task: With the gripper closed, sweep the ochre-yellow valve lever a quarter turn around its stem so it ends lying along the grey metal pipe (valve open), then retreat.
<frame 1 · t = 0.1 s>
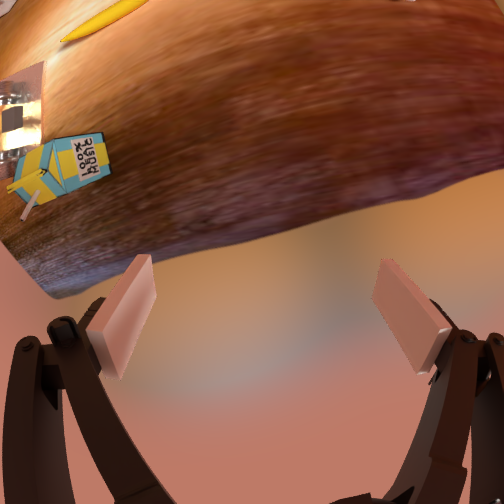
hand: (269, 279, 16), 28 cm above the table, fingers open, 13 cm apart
carton: (91, 161, 39), on the table
valve body: (12, 128, 34), on the table
banana: (123, 14, 28), on the table
wineglass: (8, 1, 20), on the table
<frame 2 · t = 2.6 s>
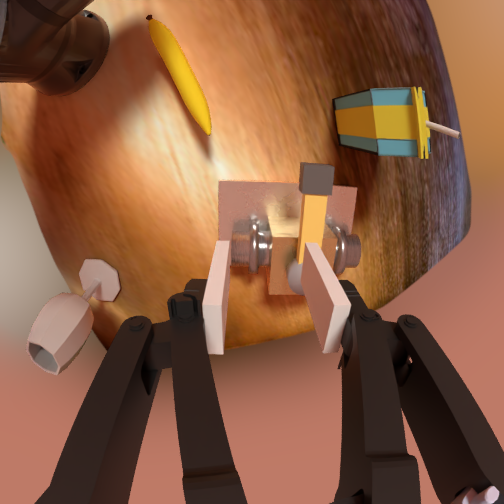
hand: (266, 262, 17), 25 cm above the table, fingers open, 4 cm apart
lever: (310, 232, 31), point 11 cm above the table, hinge at 0.0°
carton: (360, 121, 36), on the table
valve body: (292, 240, 44), on the table
banana: (185, 78, 33), on the table
wineglass: (101, 278, 46), on the table
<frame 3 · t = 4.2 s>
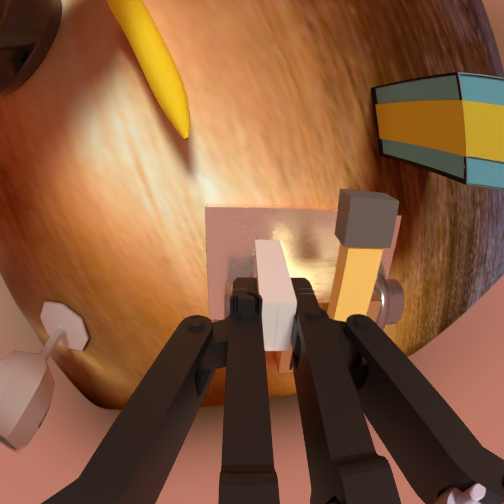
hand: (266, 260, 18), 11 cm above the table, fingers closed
lever: (349, 302, 19), point 11 cm above the table, hinge at 0.0°
carton: (407, 121, 24), on the table
valve body: (309, 286, 31), on the table
banana: (157, 56, 21), on the table
wineglass: (65, 323, 34), on the table
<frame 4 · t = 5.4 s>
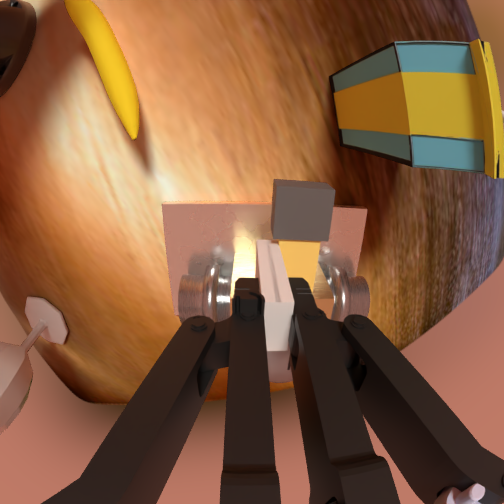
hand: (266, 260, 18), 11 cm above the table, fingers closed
lever: (290, 298, 19), point 11 cm above the table, hinge at 1.4°, touching gripper
carton: (371, 109, 23), on the table
valve body: (272, 283, 31), on the table
banana: (117, 61, 21), on the table
wineglass: (47, 318, 34), on the table
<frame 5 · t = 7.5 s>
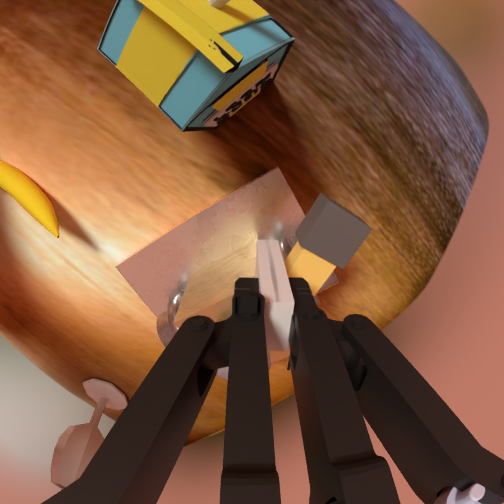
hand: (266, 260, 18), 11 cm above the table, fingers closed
lever: (279, 305, 19), point 11 cm above the table, hinge at 59.4°, touching gripper
carton: (222, 76, 22), on the table
valve body: (243, 282, 31), on the table
banana: (29, 182, 25), on the table
wineglass: (106, 391, 41), on the table
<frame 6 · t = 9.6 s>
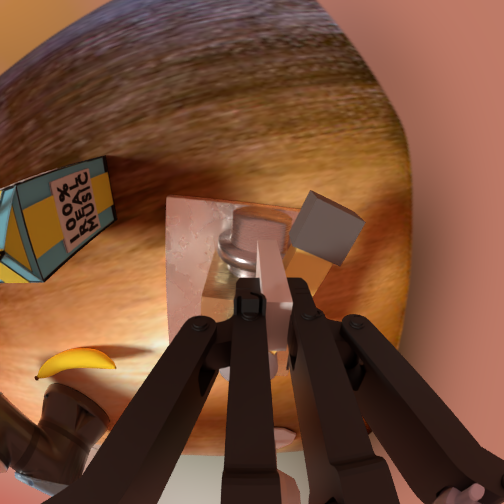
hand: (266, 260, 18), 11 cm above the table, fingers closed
lever: (280, 307, 19), point 11 cm above the table, hinge at 106.3°, touching gripper
carton: (85, 188, 26), on the table
valve body: (250, 285, 31), on the table
banana: (84, 349, 37), on the table
wineglass: (271, 435, 45), on the table
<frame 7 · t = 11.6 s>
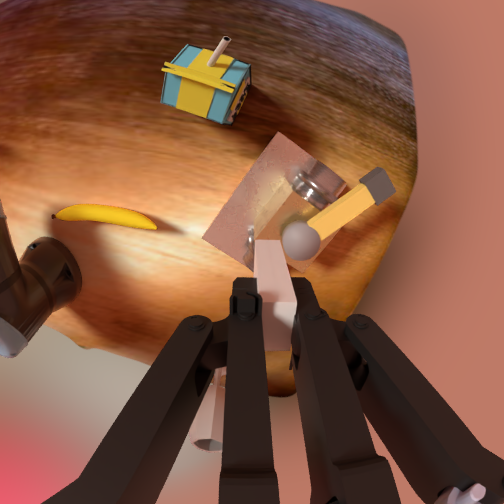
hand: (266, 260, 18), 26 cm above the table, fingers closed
lever: (337, 214, 32), point 11 cm above the table, hinge at 106.4°
carton: (221, 93, 36), on the table
valve body: (289, 213, 44), on the table
banana: (115, 210, 44), on the table
wineglass: (219, 359, 57), on the table
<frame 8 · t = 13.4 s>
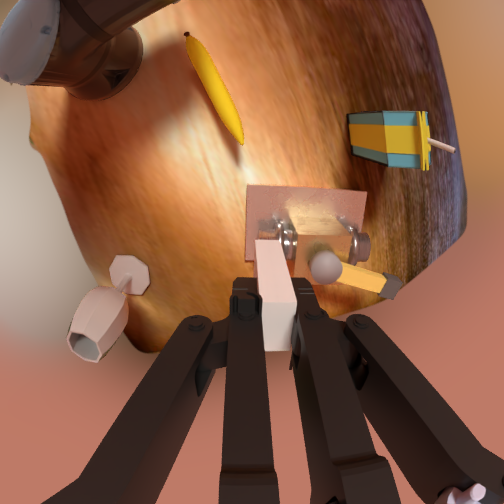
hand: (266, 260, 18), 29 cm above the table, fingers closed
lever: (357, 276, 40), point 11 cm above the table, hinge at 106.4°
carton: (370, 133, 41), on the table
valve body: (309, 237, 49), on the table
banana: (217, 91, 39), on the table
wineglass: (130, 273, 51), on the table
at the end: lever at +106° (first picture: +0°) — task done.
